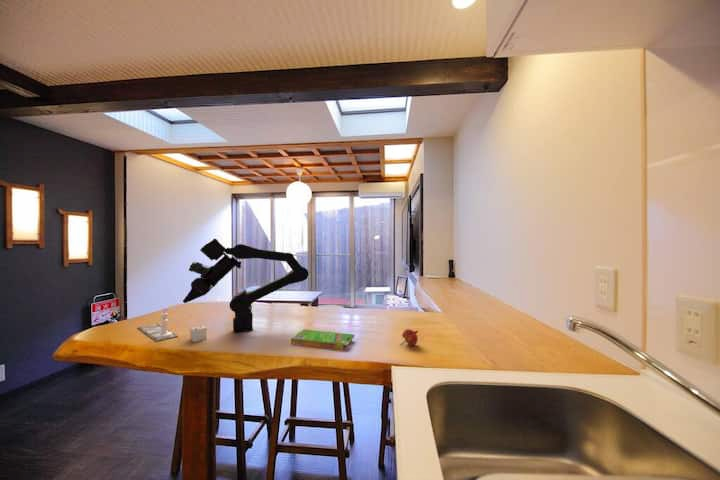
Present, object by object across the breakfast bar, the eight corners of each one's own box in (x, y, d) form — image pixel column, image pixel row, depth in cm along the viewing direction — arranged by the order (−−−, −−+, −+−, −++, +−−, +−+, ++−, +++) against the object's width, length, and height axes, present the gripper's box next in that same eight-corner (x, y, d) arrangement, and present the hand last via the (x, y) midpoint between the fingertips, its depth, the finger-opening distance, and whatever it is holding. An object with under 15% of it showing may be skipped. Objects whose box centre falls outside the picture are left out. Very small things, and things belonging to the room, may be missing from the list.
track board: (177, 336, 95) (177, 335, 95) (156, 341, 90) (156, 341, 90) (157, 324, 109) (157, 323, 109) (137, 328, 104) (137, 327, 104)
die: (202, 336, 96) (202, 325, 96) (206, 339, 94) (206, 327, 94) (190, 339, 93) (190, 327, 93) (193, 342, 91) (193, 330, 91)
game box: (303, 337, 100) (355, 340, 94) (290, 347, 90) (347, 351, 85) (303, 328, 100) (355, 331, 94) (290, 338, 90) (346, 341, 85)
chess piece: (175, 334, 97) (176, 307, 97) (164, 339, 92) (165, 310, 92) (163, 333, 97) (164, 306, 98) (151, 338, 92) (152, 309, 93)
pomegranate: (405, 354, 87) (424, 340, 86) (394, 339, 88) (413, 326, 87) (405, 349, 92) (422, 336, 92) (395, 335, 93) (412, 323, 93)
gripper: (209, 253, 108) (177, 281, 104) (198, 255, 91) (159, 289, 87) (230, 271, 111) (199, 299, 107) (224, 277, 93) (187, 311, 89)
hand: (187, 299), depth 97 cm, fingers open, 9 cm apart
